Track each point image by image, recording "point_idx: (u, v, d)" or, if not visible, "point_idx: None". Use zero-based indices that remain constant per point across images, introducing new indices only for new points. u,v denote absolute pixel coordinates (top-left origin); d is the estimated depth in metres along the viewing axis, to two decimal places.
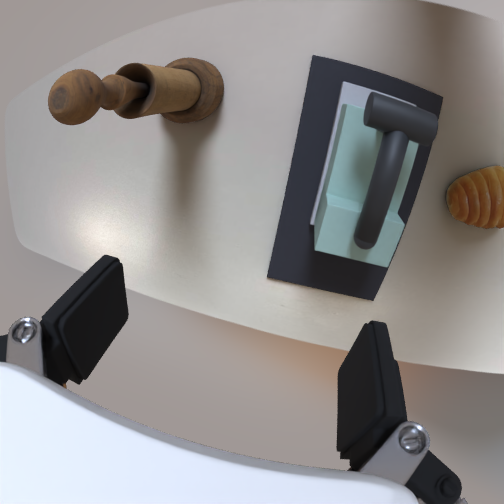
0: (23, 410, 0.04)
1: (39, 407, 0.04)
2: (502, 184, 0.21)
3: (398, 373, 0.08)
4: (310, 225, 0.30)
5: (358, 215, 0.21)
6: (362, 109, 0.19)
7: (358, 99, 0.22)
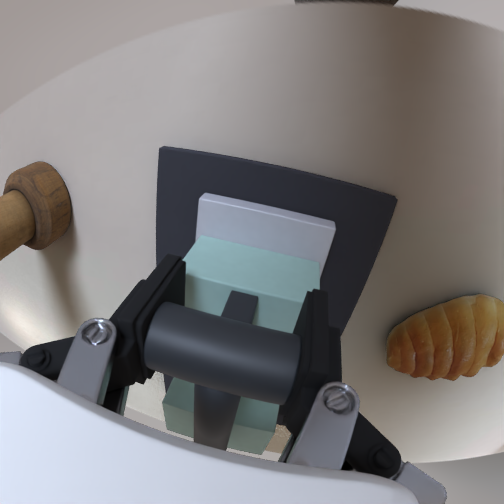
0: (23, 410, 0.04)
1: (39, 407, 0.04)
2: (479, 333, 0.14)
3: (338, 339, 0.09)
4: None
5: None
6: (200, 279, 0.13)
7: (226, 227, 0.15)
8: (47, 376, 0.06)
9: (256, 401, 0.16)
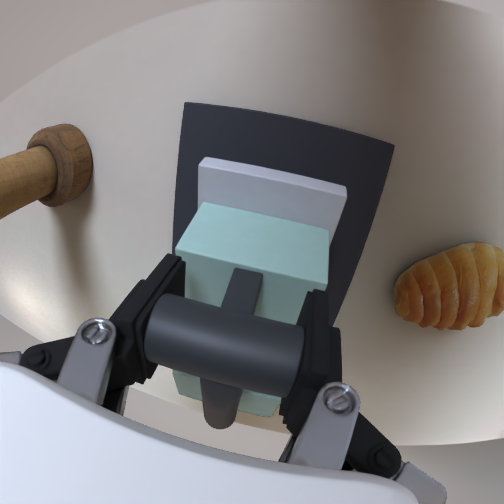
0: (23, 410, 0.04)
1: (39, 407, 0.04)
2: (482, 275, 0.15)
3: (339, 340, 0.09)
4: None
5: None
6: (202, 256, 0.12)
7: (229, 193, 0.14)
8: (47, 376, 0.06)
9: None
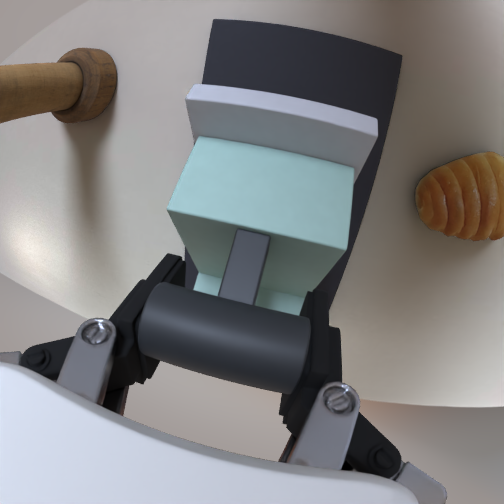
0: (23, 410, 0.04)
1: (39, 407, 0.04)
2: (498, 176, 0.14)
3: (339, 340, 0.09)
4: None
5: None
6: (198, 217, 0.10)
7: (228, 126, 0.11)
8: (47, 376, 0.06)
9: (282, 302, 0.17)
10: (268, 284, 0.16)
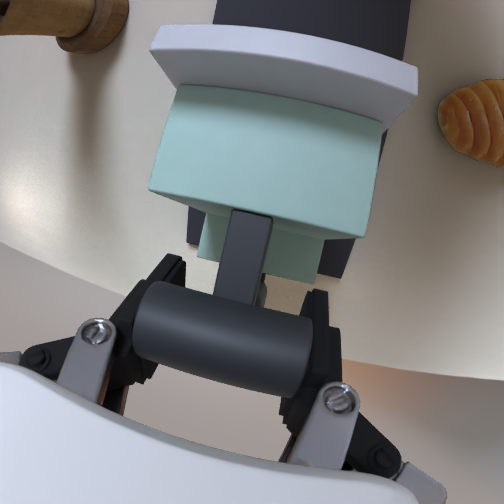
0: (23, 410, 0.04)
1: (39, 407, 0.04)
2: None
3: (339, 340, 0.09)
4: None
5: None
6: (185, 197, 0.08)
7: (213, 74, 0.07)
8: (47, 376, 0.06)
9: (297, 244, 0.15)
10: (281, 228, 0.14)
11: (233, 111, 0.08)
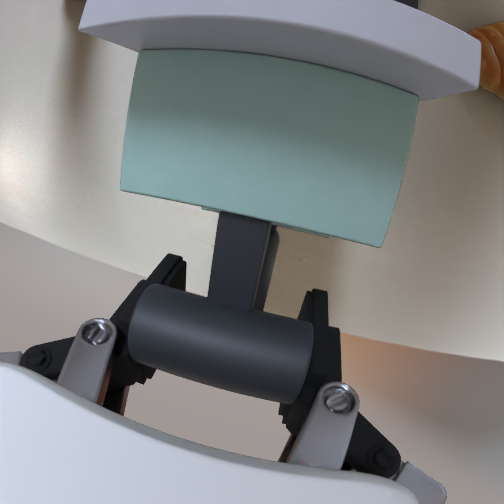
0: (23, 410, 0.04)
1: (39, 407, 0.04)
2: None
3: (338, 339, 0.09)
4: None
5: None
6: (163, 197, 0.07)
7: (175, 39, 0.05)
8: (47, 376, 0.06)
9: None
10: None
11: (211, 83, 0.06)
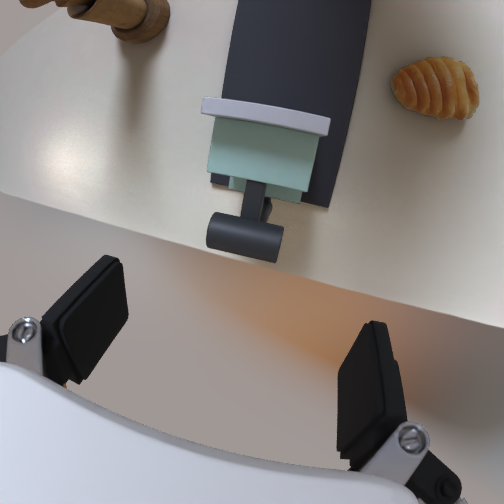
0: (23, 410, 0.04)
1: (39, 407, 0.04)
2: (450, 67, 0.19)
3: (398, 373, 0.08)
4: None
5: None
6: (225, 174, 0.18)
7: (233, 118, 0.16)
8: None
9: None
10: None
11: (244, 133, 0.17)
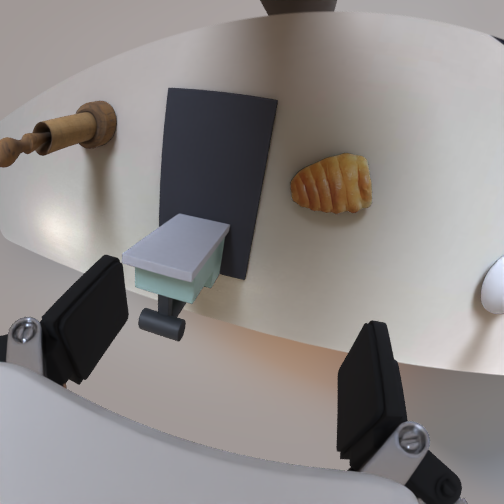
0: (23, 410, 0.04)
1: (39, 407, 0.04)
2: (343, 169, 0.29)
3: (398, 373, 0.08)
4: None
5: None
6: (145, 289, 0.29)
7: None
8: None
9: None
10: None
11: None
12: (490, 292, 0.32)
